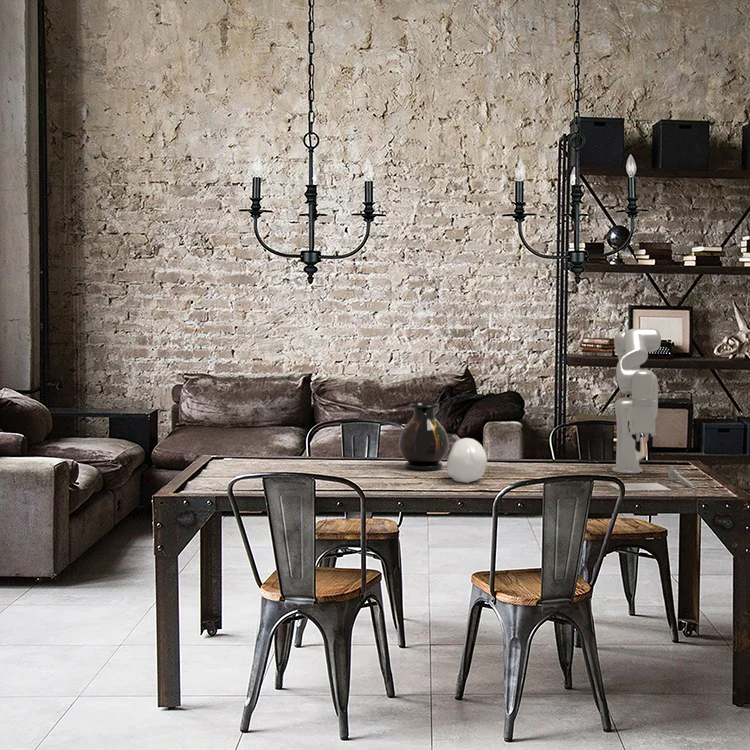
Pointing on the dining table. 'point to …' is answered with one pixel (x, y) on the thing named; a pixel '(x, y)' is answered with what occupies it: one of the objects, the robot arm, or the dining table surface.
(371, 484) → the dining table surface
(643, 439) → the tile
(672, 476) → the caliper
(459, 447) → the white egg
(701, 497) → the dining table surface
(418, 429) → the black vase
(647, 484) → the mat
